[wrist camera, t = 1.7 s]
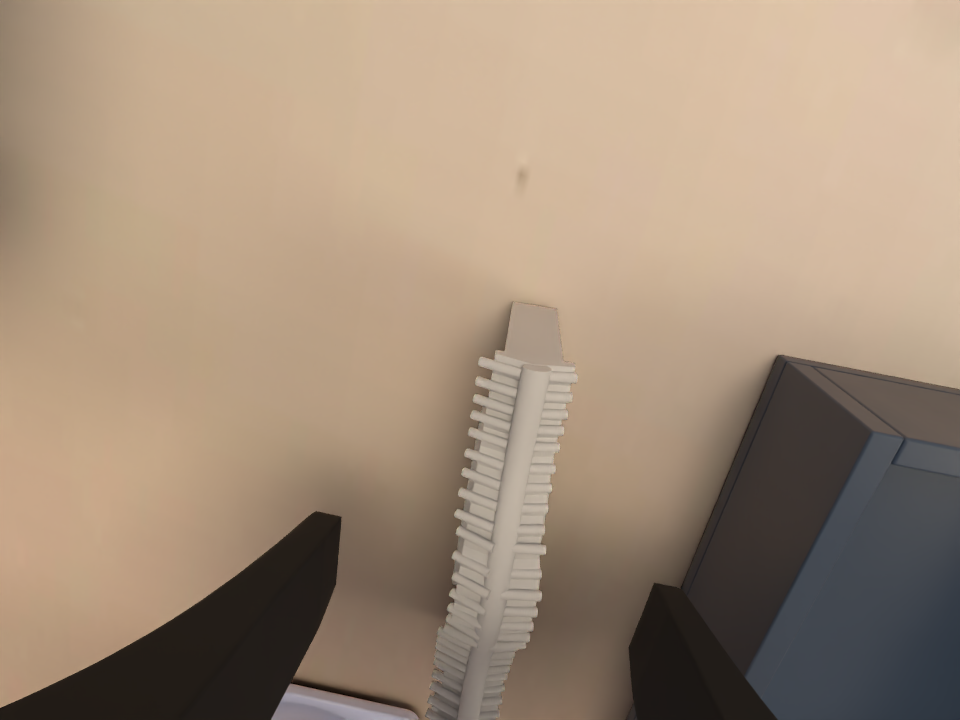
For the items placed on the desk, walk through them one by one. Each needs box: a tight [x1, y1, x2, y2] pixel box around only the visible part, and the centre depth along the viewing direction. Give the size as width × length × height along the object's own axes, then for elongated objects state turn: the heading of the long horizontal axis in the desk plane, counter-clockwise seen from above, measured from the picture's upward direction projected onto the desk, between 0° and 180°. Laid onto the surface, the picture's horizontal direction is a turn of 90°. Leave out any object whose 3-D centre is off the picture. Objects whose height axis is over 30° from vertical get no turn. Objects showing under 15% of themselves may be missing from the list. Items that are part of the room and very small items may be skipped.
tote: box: [626, 355, 960, 720], centre depth 14 cm, size 11×17×4 cm, turn 170°
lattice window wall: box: [425, 302, 578, 720], centre depth 13 cm, size 12×2×6 cm, turn 172°
